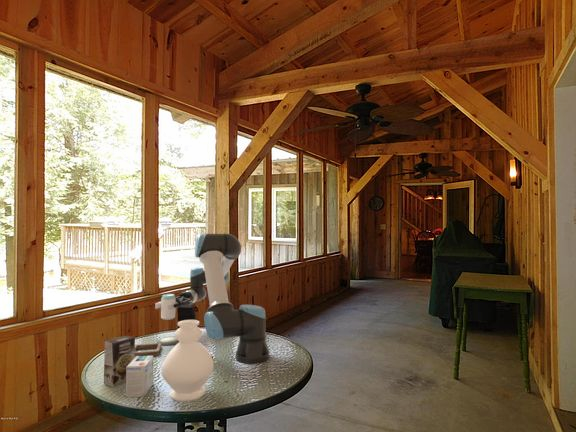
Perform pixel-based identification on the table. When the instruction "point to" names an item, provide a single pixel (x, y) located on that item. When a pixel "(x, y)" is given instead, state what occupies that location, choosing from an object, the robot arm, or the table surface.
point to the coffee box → (118, 359)
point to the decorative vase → (187, 364)
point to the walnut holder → (148, 346)
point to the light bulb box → (139, 376)
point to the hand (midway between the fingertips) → (162, 306)
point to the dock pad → (167, 341)
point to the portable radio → (185, 313)
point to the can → (165, 312)
